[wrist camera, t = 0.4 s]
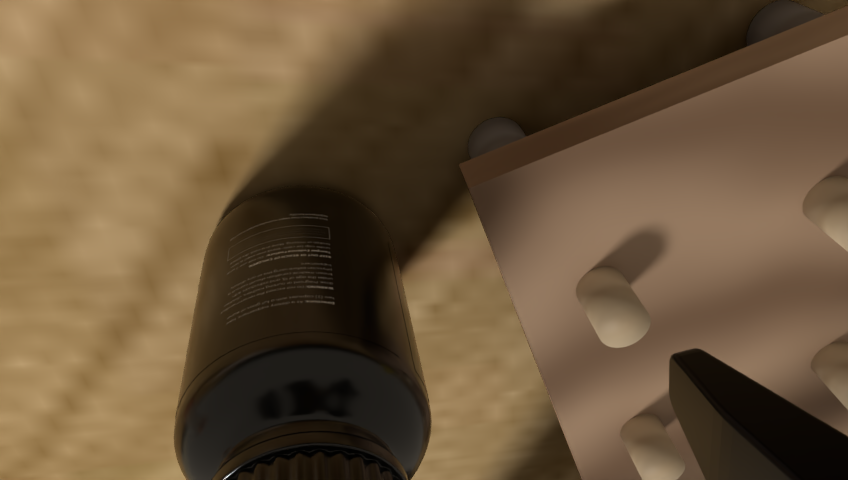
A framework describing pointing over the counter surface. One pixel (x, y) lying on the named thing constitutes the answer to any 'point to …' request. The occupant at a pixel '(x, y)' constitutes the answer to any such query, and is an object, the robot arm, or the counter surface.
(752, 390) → the robot arm
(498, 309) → the counter surface
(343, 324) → the supplement bottle
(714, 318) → the peg shelf
